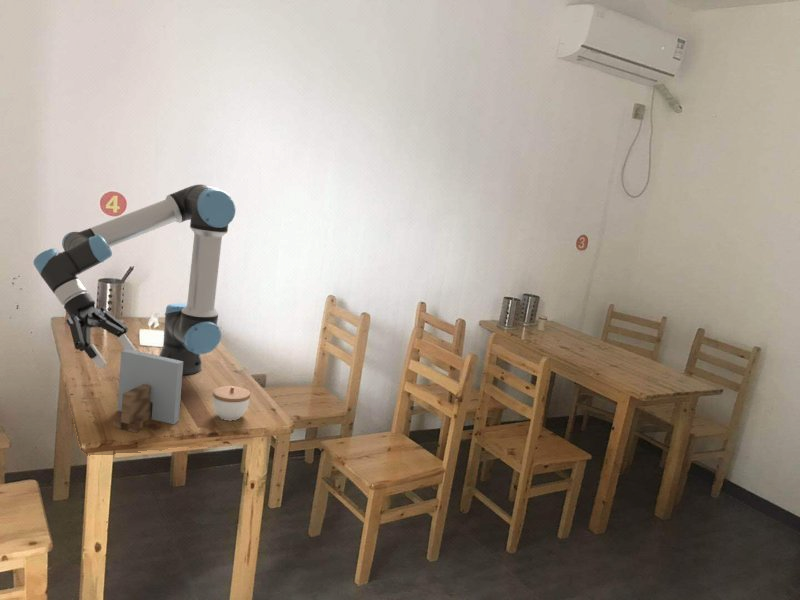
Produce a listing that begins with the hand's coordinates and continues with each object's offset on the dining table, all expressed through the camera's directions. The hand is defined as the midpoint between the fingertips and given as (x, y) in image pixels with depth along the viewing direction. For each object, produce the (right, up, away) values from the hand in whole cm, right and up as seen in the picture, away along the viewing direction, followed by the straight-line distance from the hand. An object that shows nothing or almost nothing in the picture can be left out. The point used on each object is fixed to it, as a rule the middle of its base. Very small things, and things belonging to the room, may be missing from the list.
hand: (119, 360), depth 185 cm
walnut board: (+8, -16, +2) cm, 18 cm away
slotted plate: (+8, -16, +2) cm, 18 cm away
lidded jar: (+29, -18, +9) cm, 35 cm away
